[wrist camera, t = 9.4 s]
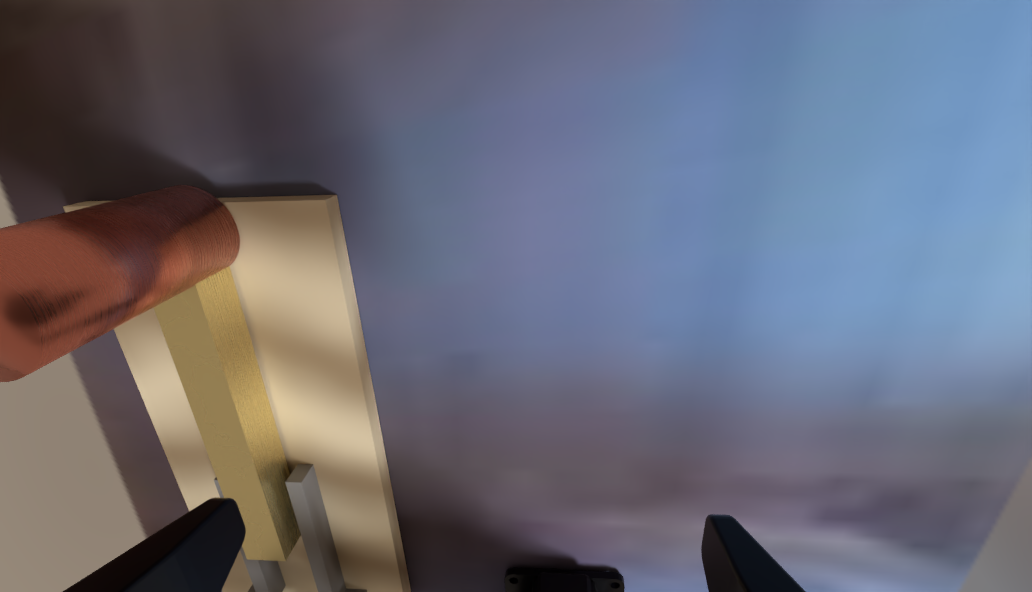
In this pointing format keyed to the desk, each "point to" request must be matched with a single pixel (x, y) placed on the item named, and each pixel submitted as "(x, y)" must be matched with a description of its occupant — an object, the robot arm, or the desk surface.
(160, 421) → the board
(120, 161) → the desk surface
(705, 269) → the desk surface
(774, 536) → the desk surface
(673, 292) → the desk surface
